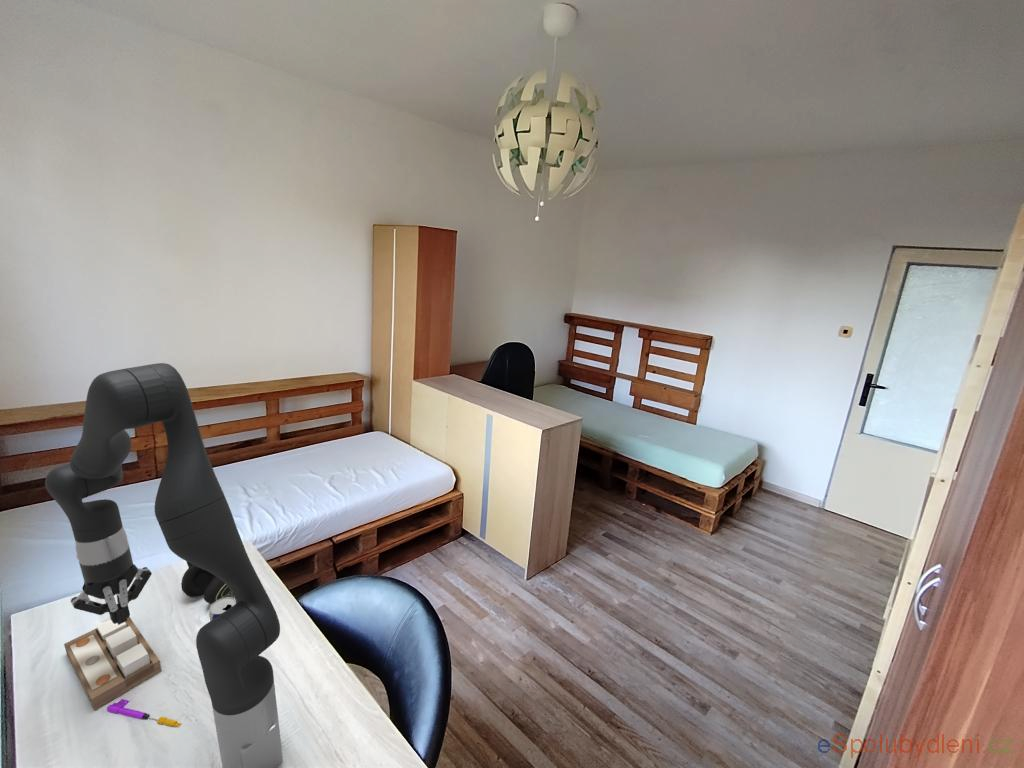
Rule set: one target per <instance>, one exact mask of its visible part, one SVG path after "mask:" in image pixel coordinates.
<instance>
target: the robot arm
mask: <svg viewBox="0 0 1024 768" xmlns="http://www.w3.org/2000/svg"><path fill="white" fill-rule="evenodd" d="M86 395H87V396H86V399H85V406H84V407H85V409H84V414H83V422H82V432H81V433H82V434H81V437H80V439H79V442H78V443H77V445H76V446H75V448H74V450H73V452H72V454H71V456H70V459H69V463H67V464H66V463H65V464H63V465H61V466H57V467H55V468H53V469H51V470H50V471H49V472H48V473H47V475H46V477H45V480H44V486H45V489H46V490H47V493H49V495H50V496H51V497H52V498H53V500H54V501H55V502H56V503H57V505H59V506H60V508H61V509H62V511H63V512H64V514H65V515H66V517H67V519H68V521H69V524H70V527H71V531H72V534H73V537H74V541H75V552H76V559H77V560H78V563H79V568H80V571H81V575H82V577H83V584H82V585H83V586H82V587H81V588H82V591H81V592H80V594H78V596H74V597H72V598H71V599H70V603H71V605H72V606H73V608H74V609H76V610H79V611H83V612H85V613H86V612H88V613H90V614H91V613H92V614H95V615H97V616H102V615H104V614H106V613H108V614H109V619H111V621H112V622H113V623H114V624H116V623H117V624H118V625H120V624H122V623H124V622H126V621H127V618H128V617H130V616H131V613H130V609H129V603H130V602H131V601H135V600H137V598H139V596H140V594H141V593H142V591H143V589H144V588H145V586H146V585H147V582H148V581H149V579H150V578H151V576H152V573H153V572H151V570H150V569H149V567H147V566H145V567H142V568H138V567H137V566H136V565H135V564H134V562H133V557H132V553H131V549H130V544H129V540H128V536H127V532H126V530H125V528H124V526H123V522H122V517H121V513H120V508H119V505H118V503H117V502H116V501H115V500H111V499H108V498H107V499H106V498H105V499H97V500H92V501H84V502H83V499H85V498H88V497H91V496H94V495H97V494H99V493H102V492H105V491H108V490H111V489H112V488H114V487H116V486H117V485H119V484H120V483H121V482H122V480H123V479H124V472H123V471H124V470H123V463H124V462H125V460H126V459H127V457H128V456H129V455H130V452H131V450H132V438H131V436H130V434H129V433H128V432H127V431H126V430H130V429H137V428H140V427H144V426H148V425H152V424H155V423H159V422H162V425H163V428H164V430H165V431H164V432H165V434H166V441H167V456H166V462H165V465H164V470H163V472H162V476H161V479H160V482H159V484H158V485H159V486H158V488H157V492H156V495H155V501H154V516H155V518H156V520H157V523H158V526H159V528H160V530H161V532H162V534H163V537H164V540H165V542H166V545H167V546H168V548H169V550H170V552H172V553H173V554H175V556H177V557H178V558H180V559H182V560H184V561H187V562H189V563H191V564H193V565H195V566H197V567H199V568H202V569H204V570H206V571H208V572H210V573H212V574H214V575H215V576H217V577H218V578H219V579H221V580H222V581H223V582H224V583H225V584H226V585H227V586H228V587H229V589H230V590H231V593H232V596H233V598H234V599H235V601H236V604H235V605H234V606H232V607H231V608H229V609H228V610H226V611H225V612H223V613H222V614H220V615H219V616H217V617H216V618H214V619H213V620H211V621H210V620H209V621H208V622H207V623H205V624H204V625H203V626H202V627H200V629H199V630H198V631H197V634H196V639H195V644H196V652H197V655H198V658H199V662H200V665H201V670H202V673H203V679H204V682H205V686H206V689H207V692H208V695H209V698H210V701H211V706H212V707H211V708H212V713H213V718H214V725H215V732H216V737H217V743H218V748H219V749H218V750H219V755H220V761H221V765H222V768H277V767H278V766H279V765H280V764H281V763H283V761H284V760H283V752H282V751H283V750H282V749H283V748H282V740H281V731H280V722H279V721H280V720H279V713H278V705H277V696H276V685H275V676H274V669H273V665H272V664H271V662H270V660H269V659H268V658H266V657H264V656H261V654H262V653H263V652H264V651H266V650H267V649H268V648H269V647H271V646H272V645H273V644H274V643H276V641H277V640H278V638H279V637H280V633H281V626H280V625H281V623H280V620H279V617H278V614H277V612H276V611H277V610H276V609H275V607H274V604H273V603H272V601H271V598H270V597H269V595H268V593H267V591H266V589H265V587H264V586H263V583H262V581H261V580H260V578H259V575H258V573H257V572H256V570H255V568H254V566H253V564H252V562H251V559H250V558H249V556H248V553H247V550H246V548H245V545H244V543H243V541H242V538H241V535H240V533H239V530H238V527H237V524H236V522H235V518H234V517H233V513H232V510H231V508H230V506H229V503H228V500H227V497H226V495H225V494H224V493H225V492H224V491H223V489H222V487H221V485H220V483H219V480H218V477H217V476H216V473H215V470H214V468H213V465H212V462H211V461H210V458H209V455H208V453H207V450H206V446H205V445H204V441H203V438H202V433H201V430H200V427H199V424H198V420H197V417H196V413H195V409H194V407H193V403H192V400H191V399H192V398H191V397H190V393H189V390H188V388H187V386H186V383H185V382H184V379H183V377H182V375H181V374H180V373H179V371H178V370H177V369H176V368H175V367H174V366H172V365H171V364H169V363H165V362H160V363H151V364H145V365H138V366H133V367H127V368H126V367H125V368H121V369H114V370H111V371H107V372H103V373H100V374H98V375H97V376H96V377H94V379H93V380H92V382H90V385H89V387H88V390H87V394H86ZM187 562H186V563H187ZM89 596H91V597H94V598H97V599H99V600H104V602H105V603H101V602H97V601H94V600H91V598H90V597H89ZM115 596H116V599H115ZM116 601H117V602H116Z"/></svg>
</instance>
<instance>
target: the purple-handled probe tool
mask: <svg viewBox="0 0 1024 768" xmlns="http://www.w3.org/2000/svg"><path fill="white" fill-rule="evenodd" d="M129 702H130V700H128V699H124V698H122V699H120V700H118V702H113V703H112V704H109V705H108V706H107V707H106V711H108V713H113V714H117V715H118V714H119V715H122V716H123V715H124V716H128V717H130V718H131V717H132V718H136V719H140V720H146V721H147V720H148V719H151V720H154V721H157V722H156V724H158V725H162V726H163V725H165V726H169V727H172V728H174V727H175V728H176V727H177V728H179V727H180V726H181V725H182V723H181V722H179V721H178V720H174V719H170V718H168V717H165V716H160V717H159V718H156V717H151V715H150V714H148V713H146V712H144V711H143V712H142V711H138V710H136V709H131V708H126V706H127V704H128V703H129Z"/></svg>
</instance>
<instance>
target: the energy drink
mask: <svg viewBox="0 0 1024 768" xmlns="http://www.w3.org/2000/svg"><path fill="white" fill-rule="evenodd" d="M235 604H236V600H235V597H232V596H227V597H225V598H221V599H219V600H217V601H215V602H214V603H213V604H210V606H209V611H208V616H209V622H210V621H211V620H213V619H214V618H216V617H217V616H219V615H220V614H222V613H223V612H225V611H226V610H228V609H229V608H231V607H232V606H234V605H235Z"/></svg>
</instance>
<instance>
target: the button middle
mask: <svg viewBox="0 0 1024 768" xmlns="http://www.w3.org/2000/svg"><path fill="white" fill-rule="evenodd" d="M105 639H106V643H107V647H108V650H109V651H110V653H111V655H112V657H113V658H114V659H115V658H116V656H117V655H119V654H121V653H123V652H125V651H127V650H128V649H130V648H132V647H134V646H136V645H138V642H137V637H136V635H135V633H134V632H133V630H132V629H131V627H130V626H129V627H127V628H125V629H123V630H121V631H119V632H117V633H115V634H113V635H111V636H109V637H107V638H105Z"/></svg>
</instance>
